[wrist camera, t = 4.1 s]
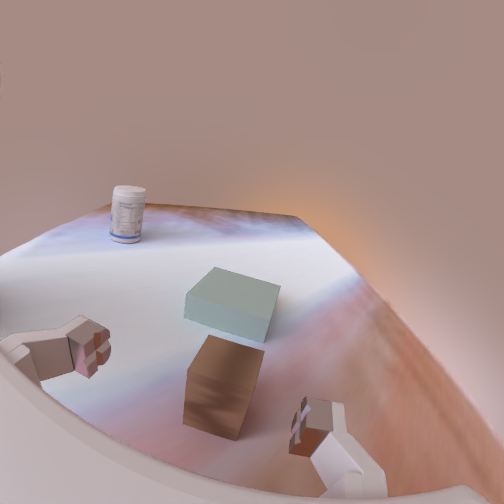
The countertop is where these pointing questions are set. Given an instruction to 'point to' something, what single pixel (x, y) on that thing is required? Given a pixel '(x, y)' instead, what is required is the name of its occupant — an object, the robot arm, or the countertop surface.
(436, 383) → the countertop surface
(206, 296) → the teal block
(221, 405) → the walnut box
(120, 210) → the supplement tub
